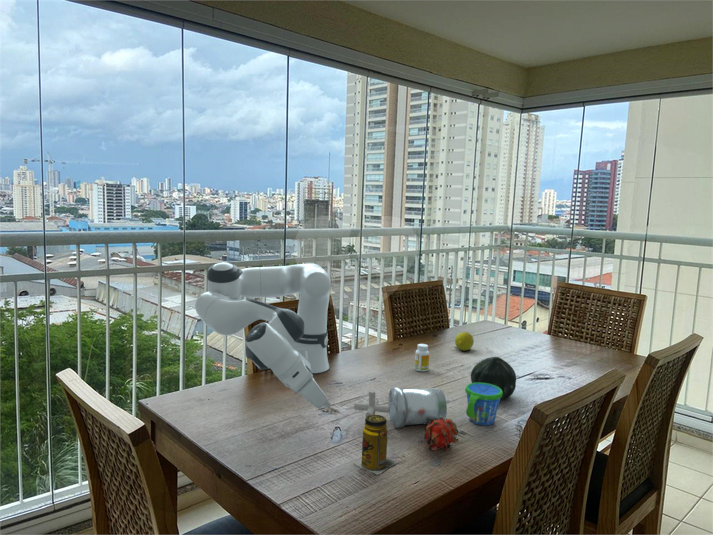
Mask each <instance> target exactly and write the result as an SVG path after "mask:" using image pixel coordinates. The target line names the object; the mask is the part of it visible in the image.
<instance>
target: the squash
mask: <svg viewBox="0 0 713 535" xmlns="http://www.w3.org/2000/svg"><path fill="white" fill-rule="evenodd" d="M470 381H471V383H488V384H492V385H495V386H497V387H499V388H500V389H501V390H502V392H503V395H502V397H501V398H500V401H501V400H502V399H508V398H510V397H511V396H512V395H513V393H514V392H515V390H516V388H517V387H516V384H517V383H516V382H517V375H516V372H515V370H514V368H513V367H512V365H511V364H509V363H508V361H506V360H504V359H503V358H501V357H498V356H491V357H487V358H484V359H483V360H480V362H477V364H475V365H474V367H472V369H471V373H470Z"/></svg>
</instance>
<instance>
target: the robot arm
mask: <svg viewBox="0 0 713 535" xmlns="http://www.w3.org/2000/svg"><path fill="white" fill-rule="evenodd" d="M206 278H207V291H206V292H203V293H202V294H200V295H199V296H198V298H196V301H195V311H196V314H197V315H198V317H199V319H201V321H202V322H203V323H204V324H205V325H206V326H207V327H208V328H209V329H210V330H212V331H214V332H215V333H217V334H219V335H222V336H231V335H236V334H238V333H239V332H240V331H243V330H244V329H245V328H246V327H247V326H249V325H251V324H252V323H254V322H256V321H259V320H263V321H267V322H260V323H259V324H256V325H254V326H253V327H252V328H251V329H250V330H249V331H248V333H247V334H246V337H245V343H246V345H245V356H246V358H247V359H248V360H250V361H252V362H253V364H254V365H255V366H256V367H257V369H258V370H260V371H261V370H269V369H271V371H272V373H273V375H274V376H275V377H276V378H278V381H280V382H281V383H282V384H283V385H284V386H285V387H286V388H289V389H291V391H292V392H294V393H295V394H296V393H298V394H299V395H300V396H301V397H303V398H304V399H305V400H306V401H307V402H308V403H310V404H311V405H312V406H313V407H315V408H316V409H319V410H321V409H322V408H323V407H324V408H325V409H328V408H329V407H330V406H331V402H330V401H329V398H328V396H327V395H326V394H325V392H324V391H323V390H322V388H321V387H320V385H319V384H318V383H317V381H316V380H315V378H314V374H321V373H324V372H326V371H328V370H329V369H330V364H329V360H328V351H327V346H328V342H329V341H328V338H329V337H328V330H327V326H328V308H329V302H330V296H331V288H332V287H331V284H332V280H331V277H330V274H329V273H328V272H327V271H326V270H325V269H324V268H323V267H322V266H321V265H319V264H318V263H300V264H299V263H298V264H290V265H283V266H260V267H259V266H257V267H248V268H242V269H241V268H238V266H237V265H236V264H233V263H231V262H216V263H213V264H212V265H210V267H209V268H208V270H207V275H206ZM295 294H298V295H299V296H298V305H297V306H298V307H297V312H295V311H293V310H291V309H289V308H283V307H279V306H278V307H277V306H274V305H272V304H269V303H266V302H263V301H260V300H258V299H257V298H260V299H261V298H278V297H280V298H281V297H285V296H291V295H295ZM242 298H243V299H242ZM244 298H245V299H244ZM253 298H255V299H253Z"/></svg>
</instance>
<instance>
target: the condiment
mask: <svg viewBox="0 0 713 535" xmlns="http://www.w3.org/2000/svg"><path fill="white" fill-rule="evenodd" d="M387 422H388V421H387V419H386V417H385V416H384V415H380V414H375V415H369V416H367V417H366V416H365V418H364V427H363V429H362V443H361V444H362V447H361V460H359V461H357V462H356V463H354V466H355V465H356V466H357V467H360V468H361V469H363V470H366V471H367V472H369V473H372V474H374V475H377V476H378V475H380V474H382V473H384V472H385V471H386V470H388V469H389V468H391V467H393V466H394V465H395V464H397V463H398V461H397V460H394V459H392V458H388V457H387V455H388V454H387V453H388V434H389V432H388V426H387Z"/></svg>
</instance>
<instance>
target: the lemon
mask: <svg viewBox="0 0 713 535" xmlns="http://www.w3.org/2000/svg"><path fill="white" fill-rule="evenodd" d="M454 344H455V346H456V348H458V349H459V350H460V351H464V352H465V351H469V350H471V349H472V348H473V345H474V338H473V335H472V334H471V333H469V332H468V331H467V332H466V331H464V332H460V333H458V334H457V335H456V337H455V340H454Z"/></svg>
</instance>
